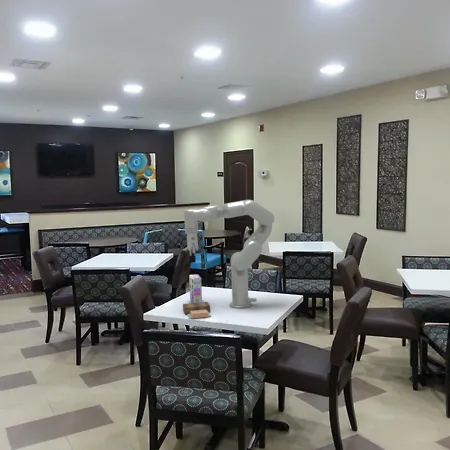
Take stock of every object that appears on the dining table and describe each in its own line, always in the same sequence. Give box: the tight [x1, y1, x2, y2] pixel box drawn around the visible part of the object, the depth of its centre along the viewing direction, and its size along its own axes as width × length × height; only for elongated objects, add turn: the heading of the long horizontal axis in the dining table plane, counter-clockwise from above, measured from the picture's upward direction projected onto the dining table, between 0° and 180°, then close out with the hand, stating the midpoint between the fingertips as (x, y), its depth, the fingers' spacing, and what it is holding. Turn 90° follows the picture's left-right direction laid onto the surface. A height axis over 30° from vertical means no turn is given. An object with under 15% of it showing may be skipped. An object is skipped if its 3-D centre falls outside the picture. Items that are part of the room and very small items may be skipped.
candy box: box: [188, 273, 203, 303], centre depth 285 cm, size 14×6×16 cm, turn 11°
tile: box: [190, 310, 209, 319], centre depth 255 cm, size 9×6×2 cm, turn 102°
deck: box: [182, 301, 211, 316], centre depth 266 cm, size 14×9×4 cm, turn 103°
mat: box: [186, 312, 212, 320], centre depth 258 cm, size 12×8×1 cm, turn 103°
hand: (192, 262), depth 271 cm, fingers closed
